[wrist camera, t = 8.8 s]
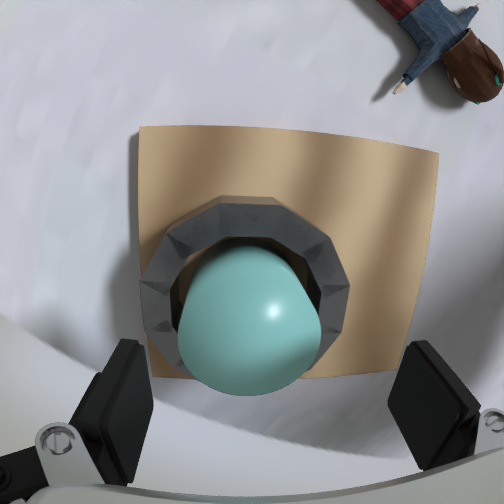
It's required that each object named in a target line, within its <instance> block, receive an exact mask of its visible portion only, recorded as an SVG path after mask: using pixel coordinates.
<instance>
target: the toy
mask: <svg viewBox="0 0 504 504" xmlns="http://www.w3.org/2000/svg"><path fill="white" fill-rule="evenodd" d="M376 1H378V2H379V3H380V4H381V5H382V6H383V7H384V8H385V9H386V10H387V11H388V12H389V13H390V14H391V15H393V16H394V17H395V18H396V19H397V20H398V21H400V22H399V23H398V24H400V25H401V26H402V27H403V28H404V29H405V30H407V31H408V32H409V33H410V34H411V35H412V37H413V39H414V40H415V42H416V43H417V45H418V47H419V48H420V53H419V56H418V58H417V59H416V60H415V61H414V62H413V63H412V64H411V66H410V67H409V68H408V69H407V70H406V71H405V73H404V74H403V80H402V81H401V82H400V83H399V84H398V85H397V86H396V88H395V89H394V91H393V94H397V93H399V92H401V91H403V90H404V89H405V88H406V86H407V85H409V84H410V83H411V82H412V81H413V80H414V79H415V78H416V77H418V76H419V75H420V74H421V73H422V72H423V71H424V70H425V69H426V68H428V67H429V66H430V65H431V64H432V63H434V62H435V61H436V60H443V61H444V62H445V64H446V67H447V73H448V77H449V79H450V81H451V83H452V85H453V86H454V87H455V89H456V91H458V92H459V93H460V94H461V95H462V97H463V98H465V99H467V100H469V101H471V102H474V103H475V104H478V105H479V104H480V103H481V102H487V101H489V100H491V99H493V98H495V97H496V96H497V95H498V94H499V92H500V91H501V89H502V86H503V83H504V70H503V66H502V63H501V61H500V59H499V58H498V56H497V55H496V54H495V53H494V52H493V51H492V50H491V49H490V48H489V47H488V46H487V45H486V44H484V43H483V42H481V41H480V39H479V38H478V39H479V40H478V39H477V37H476V36H475V34H474V33H473V32H472V30H471V29H470V28H467V27H468V25H469V23H470V21H471V20H472V18H473V17H474V16H475V14H476V13H477V11H478V10H479V9H480V8H481V4H480V3H479V4H477V5H475V6H474V7H473V6H470V7H469V8H467V9H466V10H465V11H464V12H463V13H462V14H460V15H459V16H456V15H454V14H453V13H452V12H451V11H450V10H448V9H447V8H446V7H445V6H443V4H442V2H441V1H440V0H376ZM466 28H467V29H466Z"/></svg>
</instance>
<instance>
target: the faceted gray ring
mask: <svg viewBox="0 0 504 504" xmlns="http://www.w3.org/2000/svg"><path fill="white" fill-rule="evenodd" d="M226 236H244V237H271V238H273V239H275V240H276V241H278V242H280V243H281V244H283V245H284V246H286V247H288V248H289V249H291V250H292V251H294V252H296V253H297V254H299V255H300V256H301V258H302V260H303V263H304V265H305V267H306V269H307V271H308V276H307V285H306V294H307V296H308V298H309V299H310V301H311V303H312V305H313V307H314V308H315V310H316V312H317V315H318V317H319V321H320V326H321V341H320V345H319V349H318V352H317V354H316V357H315V358H314V360H313V362H312V364H311V365H310V366H309V368H308V369H307V370H306V371H305V372H307V371H309V370H311V369H312V368H313V366H314V365H315V364H316V363H317V362H318V361H319V359H320V358H321V357H322V356H323V355H324V354H325V352H326V351H327V350H328V349H329V348H330V346H331V345H332V344H333V343H334V341H335V340H336V339H337V338H338V337H339V335H340V334H341V333H342V328H343V323H344V318H345V313H346V307H347V301H348V296H349V290H350V283H349V281H348V278H347V276H346V273H345V271H344V268H343V266H342V264H341V261H340V259H339V257H338V254H337V252H336V250H335V247H334V245H333V243H332V240H331V238H330V237H329V236H328V235H327V234H326V233H324V232H323V231H322V230H321V229H319V228H318V227H317V226H316V225H315V224H313V223H312V222H310V221H309V220H307V219H306V218H304V217H303V216H301V215H300V214H298V213H297V212H295V211H294V210H292V209H291V208H289V207H288V206H286V205H284V204H283V203H281V202H280V201H278V200H277V199H275V198H274V197H259V196H231V195H220V196H218V197H217V198H215V199H213V200H211V201H209V202H207V203H206V204H204V205H202V206H200V207H198V208H196V209H195V210H193V211H191V212H189V213H187V214H186V215H184V216H182V217H180V218H178V219H177V220H175V222H174V223H173V224H172V225H171V227H170V228H169V229H168V230H167V231H166V233H165V235H164V236H163V238H162V240H161V242H160V244H159V245H158V247H157V249H156V251H155V253H154V255H153V256H152V258H151V260H150V262H149V264H148V266H147V268H146V270H145V271H144V273H143V275H142V277H141V279H140V292H141V303H142V313H143V322H144V331H145V332H146V333H147V335H148V336H149V338H150V339H151V340H152V342H153V343H154V344H155V346H156V347H157V348H158V349H159V351H160V352H161V353H162V355H163V356H164V357H165V359H166V360H167V361H168V362H169V364H170V365H171V366H172V367H173V369H175V370H177V371H179V372H181V373H183V374H185V375H187V376H189V377H191V378H194V379H196V380H198V379H197V378H196V377H195V376H194V375H193V374H192V373H191V372H190V371H189V370H188V368H187V367H186V365H185V364H184V362H183V360H182V358H181V355H180V352H179V348H178V328H179V323H180V320H181V316H182V312H183V308H184V307H183V305H182V304H181V302H180V301H179V275H178V274H179V273H180V271H181V269H182V268H183V266H184V264H185V263H186V261H187V259H188V257H189V256H191V255H192V254H194V253H196V252H198V251H200V250H202V249H204V248H206V247H207V246H209V245H211V244H213V243H215V242H217V241H219V240H221V239H223V238H224V237H226ZM305 372H304V373H305ZM198 381H199V380H198ZM200 382H201V381H200Z"/></svg>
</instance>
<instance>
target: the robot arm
mask: <svg viewBox="0 0 504 504" xmlns="http://www.w3.org/2000/svg"><path fill="white" fill-rule="evenodd" d="M388 407H389V409H390V411H391V413H392V415H393V417H394V419H395V421H396V423H397V425H398V427H399V429H400V431H401V433H402V435H403V437H404V439H405V441H406V443H407V445H408V447H409V449H410V451H411V453H412V455H413V457H414V459H415V461H416V463H417V465H418V467H419V469H421V470H423V472H420V473H416V474H413V475H409V476H406V477H401V478H397V479H393V480H389V481H385V482H380V483H375V484H370V485H365V486H360V487H354V488H349V489H342V490H335V491H327V492H319V493H310V494H300V495H287V496H286V495H285V496H264V497H263V496H262V497H230V496H229V497H228V496H207V495H193V494H180V493H170V492H162V491H153V490H147V489H140V488H131V487H127V484H128V483H133V480H134V477H135V473H136V469H137V465H138V462H139V458H140V454H141V451H142V447H143V443H144V440H145V436H146V433H147V429H148V426H149V422H150V418H151V415H152V412H153V397H152V392H151V386H150V380H149V375H148V369H147V362H146V356H145V349H144V346H143V345H139V342H138V340H131V339H121V340H120V341H119V343H118V345H117V347H116V348H115V350H114V352H113V354H112V355H111V357H110V359H109V361H108V363H107V364H106V366H105V368H104V370H103V372H102V373H101V372H98V373H96V375H95V376H94V378H93V380H92V381H91V383H90V385H89V387H88V388H87V390H86V392H85V394H84V396H83V398H82V399H81V401H80V403H79V405H78V407H77V409H76V410H75V412H74V414H73V416H72V418H71V420H70V422H69V424H66V423H60V422H59V423H58V422H57V423H51V424H49V425H46V426H44V427H43V428H42V429H40V430H39V432H38V433H37V435H36V438H35V446H32V447H30V448H27V449H24V450H20V451H17V452H14V453H11V454H8V455H5V456H1V457H0V504H504V412H503V411H501V410H498V409H494V408H491V409H486V410H484V411H483V412H482V413H481V414H480V412H479V409H480V407H481V405H480V403H479V402H478V401H477V400H476V398H475V397H474V396H473V395H472V393H471V392H470V391H469V390H468V388H467V387H466V386H465V385H464V384H463V382H462V381H461V380H460V379H459V377H458V376H457V375H456V374H455V373H454V371H453V370H452V369H451V368H450V367H449V366H448V364H447V363H446V362H445V361H444V360H443V358H442V357H441V356H440V355H439V354H438V353H437V352H436V350H435V349H434V348H433V347H432V346H431V345H430V343H429V342H428V341H426V340H421V341H413V342H411V343H410V345H409V346H407V348H406V350H405V353H404V356H403V359H402V362H401V365H400V368H399V371H398V373H397V376H396V379H395V382H394V384H393V387H392V390H391V392H390V395H389V398H388Z"/></svg>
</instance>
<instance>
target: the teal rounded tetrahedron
mask: <svg viewBox="0 0 504 504" xmlns="http://www.w3.org/2000/svg"><path fill="white" fill-rule="evenodd" d="M320 341H321V326H320V321H319V317H318V315H317V312H316V310H315V308H314V307H313V305H312V303H311V301H310V299H309V298H308V296H307V294H306V292H305V290H304V289H303V287H302V285H301V283H300V281H299V280H298V278H297V276H296V274H295V273H294V271H293V269H292V267H291V265H290V264H289V262H288V260H287V259H286V257H285V256H284V255H283V254H282V252H280V251H279V250H278V249H277V248H276V247H274V246H273V245H272V244H270V243H268V242H266V241H263V240H260V239H257V238H252V237H236V238H230V239H227V240H224V241H222V242H220V243H217V244H216V245H214V246H213V247H211V248H210V249H209V250H208V251H206V252H205V254H204V255H203V256H202V257H201V258H200V260H199V261H198V263H197V265H196V267H195V269H194V272H193V276H192V279H191V283H190V286H189V290H188V294H187V297H186V301H185V305H184V308H183V312H182V316H181V320H180V323H179V328H178V348H179V352H180V355H181V358H182V360H183V362H184V364H185V365H186V367H187V368H188V370H189V371H190V372H191V373H192V374H193V375H194V376H195V377H196V378H197V379H198V380H199V381H201V382H202V383H204V384H205V385H207V386H208V387H210V388H212V389H214V390H217V391H220V392H222V393H226V394H230V395H237V396H256V395H263V394H267V393H271V392H274V391H277V390H279V389H281V388H283V387H285V386H287V385H289V384H291V383H292V382H294V381H295V380H296V379H298V378H299V377H300V376H301V375H302V374H303V373H304V372H305V371H306V370H307V369H308V368H309V366H310V365H311V364H312V362H313V360H314V358H315V357H316V354H317V352H318V349H319V345H320Z"/></svg>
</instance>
